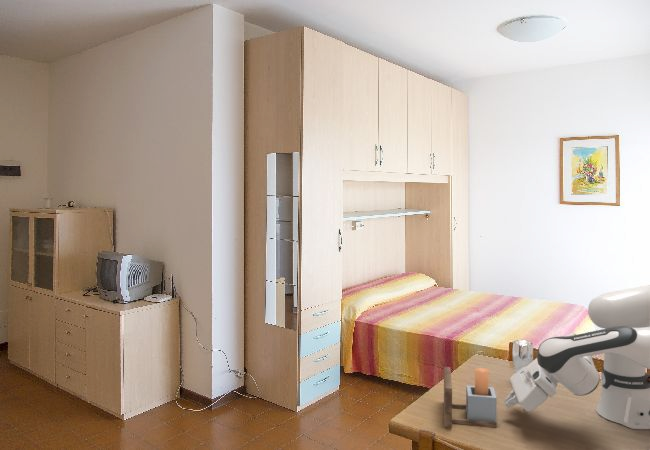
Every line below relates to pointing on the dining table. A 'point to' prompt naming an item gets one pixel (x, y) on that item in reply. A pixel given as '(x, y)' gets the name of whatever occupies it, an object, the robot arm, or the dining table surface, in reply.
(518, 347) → the beer glass
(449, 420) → the backstop wall
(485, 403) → the socket block
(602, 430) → the dining table surface
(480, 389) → the dowel
